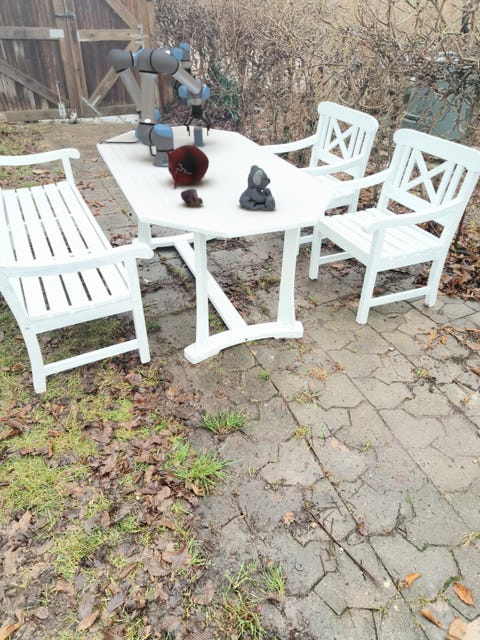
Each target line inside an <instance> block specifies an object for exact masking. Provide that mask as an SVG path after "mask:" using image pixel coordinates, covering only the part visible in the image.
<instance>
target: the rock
mask: <svg viewBox="0 0 480 640" xmlns="http://www.w3.org/2000/svg"><path fill="white" fill-rule="evenodd" d="M180 197H181V200H182V201H183V202H184V203H185V205H187V206H189V207H191V206H192V207H193V206H201V205H203V204H204V202H203V199H202V197H199V195H198V190H197V189H196V188H188V189H185V190H181V192H180Z"/></svg>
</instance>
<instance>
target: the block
mask: <svg viewBox="0 0 480 640" xmlns="http://www.w3.org/2000/svg"><path fill="white" fill-rule="evenodd" d="M203 132H204V131H203V126H193V142H194V143H193V144H194V145H193V146H195V147H203V146H204V134H203Z"/></svg>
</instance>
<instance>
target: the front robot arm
mask: <svg viewBox="0 0 480 640" xmlns="http://www.w3.org/2000/svg"><path fill="white" fill-rule="evenodd" d="M136 52H137V53H136V56H135V67H136V69H137V70H138V74H139V75H140V79H141V82H140V83H141V84H140V86H141V88H140V90H141V120H140V119H139V121H138V124H137V125H136V127H135V130H134V135H135V138H136V140H137V141H139V142H138V143H141V144H143V145H146V144H149V145H148V146H149V152H150V154H151V155H152V156H153V157H154V165H155V166H157V167H163V168H164V167H165V168H168V155H167V153H166V151H165V149H167V150H168V152H169V153H171V152H172V151H173V150H175V143H174V141H175V140H174V132H173V128H172V126H170V125H169V124H166V123H161V124H157V122H156V121H155V109H156V79H157V77H158V76H159V73H160V72H161V73H165V74H167V75H168V76H170V77H173V78H174V79H175V80H178V82H179V84H180V83H181V85H180V87H179V88H178V94H179V97H180V98H181V99H186V98H190V103H191V111H187V116H186V118H185V121H184V124H183V126H184V127H186V132H188V137H191V130H190V129H191V128H190V125H191V124H192V122H193V120H194V119H195V120H196V119H198V120H199V119H200V120H202V121H203V122H204V123H205V124H206V133H207V134H206V136H207V137H209V132H210V129H211V128H210V126H212V125H213V123H212V121H211V119H210V117H209V115H208V112H207V110H205V111H203V100H208V99H209V98H210V96H211V89H210V88H209V86H203V85H202V83H201V80H200V79H197V80H195V79H194V78H193V77H192V76H191V75H192V74H191V75H190V74H189V73H188V72H186V71H185V70H184V69H183V68H182V67H181V65H180V61H177V60H176V59H175V58H174V57H172V56H171V55H170V54H168V53H167V52H165V51H163V49H160V48H147V47H146V48H141V49H140V48H139V50H137V51H136ZM203 115H204V116H205V117H206V118H205V117H204V116H203ZM190 116H192V117H191V118H190ZM189 118H190V119H189ZM152 146H155V154H154V153H153V151H152Z"/></svg>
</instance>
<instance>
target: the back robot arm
mask: <svg viewBox="0 0 480 640" xmlns="http://www.w3.org/2000/svg"><path fill="white" fill-rule="evenodd" d="M162 50H163V51H165V52H167V53H168V54H170V55H171V56H172V57H174V58H175V59H176V60H177V61H178V62H179V65H180V66H181V67H182V68H183V69H184V70H185V71H186V72H188V73H189V74H190V75H191V76H192V77H193V78H194V79H195V80H198V79H197V78H196V77H197V76H196V75H195V74H193V75H192V68H191V67H192V66H191V65H192V64H191V48H190V44H189V43H179V44H178V46H177V47H176V46H173V47H172V46H166V47H164V48H163V49H162ZM137 52H138V51H132V50H123V49H121V48H113V49H111V50H110V51H109V52H108V56H107V60H108V63H109V64H110V65H111V67H112V68H113V70H114V72H115V74H116V75H118V76H119V78H120V79H121V81H122V83H123V84H124V87H125V88H126V90H127V92H128V94H129V96H130V98H131V100H132V102H133V104H134V105H135V107H136V108H135V111H136V113H137V115H138V119H139V121H140V120H141V88H140V86H139V84H138V82H137V80H136V78H135V77H134V75H133V72H132V71H131V68H134V67H136V65H135V56H136V53H137ZM178 82H179V81H178V80H177V79H175V82H174V86H173V90H175V92H176V93H175V94H176V95H177V98H178V99H177V100H178V101H179V100H181V99H180V98H181V97H180V96H179V94H178V89H179V87H180V86H182V84H181V83H180V82H179V84H178ZM155 121H156V122H157V124H162V123H161V114H160V111H159V109H157V108H155ZM103 143H105V144H136V143H137V144H138V143H140V142H139V141H138V140H135V141H106V140H102V141H100V142H99V145H101V144H103ZM145 146H150V145H149V144H145Z"/></svg>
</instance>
